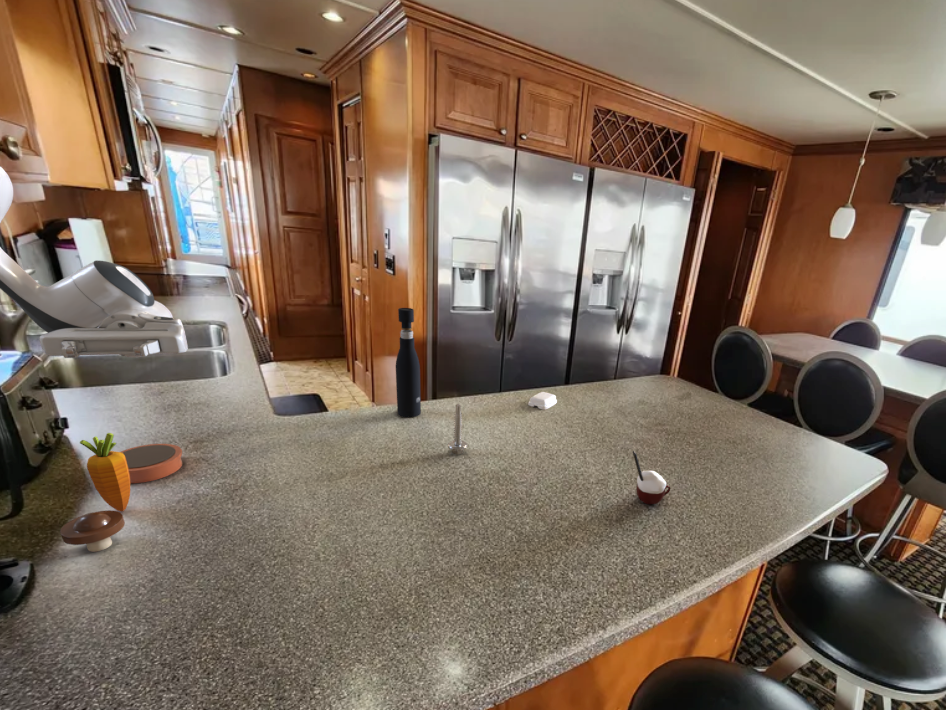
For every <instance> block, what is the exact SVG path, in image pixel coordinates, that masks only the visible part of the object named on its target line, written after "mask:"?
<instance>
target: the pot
mask: <svg viewBox="0 0 946 710" xmlns="http://www.w3.org/2000/svg"><path fill="white" fill-rule="evenodd" d="M120 452H121V453H123V454H124V455H125V458H126V462H127V465H128V470H129V475H130V484H141V483H142V484H143V483H149V482H153V481H156V480H159V479H162V478H165V477H168V476H171V475H173V474H174V473H176V472H177V471H179V470H180V469H181V468H182V466H183V460H182V456H183V449H182V448H181V447H180V446H179V445H176V444H171V443H150V444H149V443H148V444H143V445H137V446H133V447H129V448H126V449H124V450H120Z"/></svg>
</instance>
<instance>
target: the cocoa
mask: <svg viewBox="0 0 946 710" xmlns="http://www.w3.org/2000/svg"><path fill="white" fill-rule="evenodd" d="M632 456H633V459H634V463H635V467H636V470H637V474H638V475H637V478H636V489H635V490H636V495H637V497H638V499H639V501H641V502H642V503H644V504H645V505H656V504H659V503H660V502H661V501H662V500H663V498H664V497H665V496H666V495H668V494H669V493H670V491H671V486H670V485H668V484H667V482H666V480H665V479H664V478H663V476H662V475H660V474H659V473H658V472H657V471H654V470H641V469H642V468H641V465H640V462H639V458H638V455H637V452H636V451H635V450H632ZM666 489H667V490H666Z"/></svg>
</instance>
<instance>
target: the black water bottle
mask: <svg viewBox="0 0 946 710" xmlns="http://www.w3.org/2000/svg"><path fill="white" fill-rule="evenodd" d="M397 311H398V313H397V314H398V322H399V323H401V330H400V331H399V334H400V335H399V336H400V337H399V349H398V352H397V354H396V360H395V384H396V409H397V410H396V411H397V412H396V413H397V415H398V416H399V417H402V418H407V419H409V418H416V417H418V416H420V415H421V414H422V406H421V405H422V402H421V401H422V400H421V399H422V398H421V364H420V360H419V356H418V353H417V351H416V348H415V337H414V331H413V330H412V329H413V328H412V323H414V322H415V313H414V311H415V310H414V308H410V307H399V308H398V310H397Z"/></svg>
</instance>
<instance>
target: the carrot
mask: <svg viewBox="0 0 946 710" xmlns="http://www.w3.org/2000/svg"><path fill="white" fill-rule="evenodd" d="M114 436H115V434H113V433H112V432H107V433H106V435H105V437H104V439H99V438H98V436H94V437H93V438H92V440H93V443H94V445H95V446H94V445H93V444H92V443H91V442H89V441H87V440H84V439H81V440H80V441H79V444H80V445H82V446H84V447H85V448H87V449H88V450H89V451H91V452H92V453H94V455H91V456H89V457H88V459H87V462H86V468H87V471H88V474H89V477H90V479H91V481H92V483H93V486H94V488H95V490H96V491H97V493H98V494H99V495H100V497H101V498H102V500H103V501H104V502H105V503H106V504H107V505H108V506H110V508H112V509H114V510H115V511H118V512H120V513H123V512H124V511H125V510H127V507H128V504H129V501H130V497H131V483H130V475H129V470H128V465H127V462H126V458H125V455H124V454H123V453H121V451H115V450H112V449H113V448H114V447H115V446H116V444H117V443H116V442H113V440H114Z"/></svg>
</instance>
